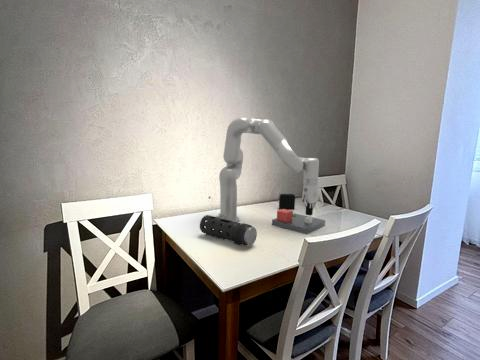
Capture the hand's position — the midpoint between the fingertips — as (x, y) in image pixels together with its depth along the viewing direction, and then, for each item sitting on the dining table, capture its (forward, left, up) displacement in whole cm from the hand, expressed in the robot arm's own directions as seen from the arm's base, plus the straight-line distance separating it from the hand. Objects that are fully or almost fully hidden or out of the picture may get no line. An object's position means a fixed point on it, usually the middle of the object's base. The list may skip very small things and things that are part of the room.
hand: (309, 214), depth 158 cm
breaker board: (0, +6, -7) cm, 9 cm away
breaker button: (0, 0, -6) cm, 6 cm away
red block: (-5, +12, -4) cm, 14 cm away
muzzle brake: (-44, +18, -8) cm, 49 cm away
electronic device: (+25, +30, -8) cm, 40 cm away
